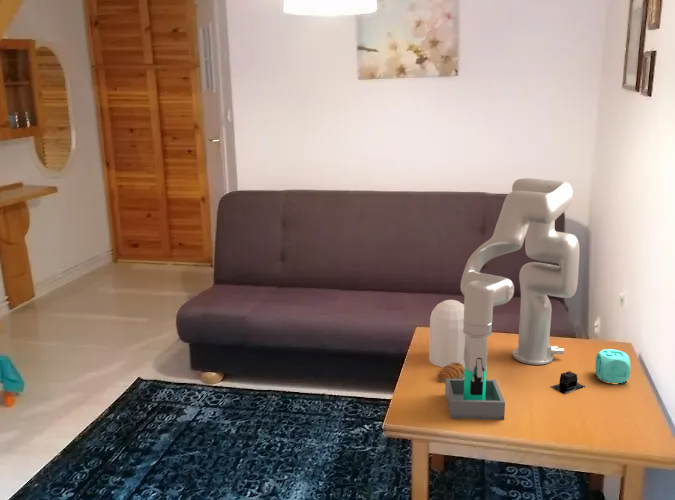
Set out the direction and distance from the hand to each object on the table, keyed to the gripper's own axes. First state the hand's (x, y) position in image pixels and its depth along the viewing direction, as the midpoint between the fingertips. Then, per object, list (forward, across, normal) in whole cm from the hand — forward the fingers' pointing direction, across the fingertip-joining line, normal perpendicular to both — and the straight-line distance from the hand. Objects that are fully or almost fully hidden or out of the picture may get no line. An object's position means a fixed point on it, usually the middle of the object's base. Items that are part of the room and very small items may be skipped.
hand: (474, 389), depth 182 cm
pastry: (+6, -19, -4) cm, 20 cm away
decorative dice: (+6, -20, +44) cm, 48 cm away
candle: (+3, 0, 0) cm, 3 cm away
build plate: (+6, -14, +29) cm, 33 cm away
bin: (+5, 0, 0) cm, 5 cm away
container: (+6, -32, -3) cm, 32 cm away
